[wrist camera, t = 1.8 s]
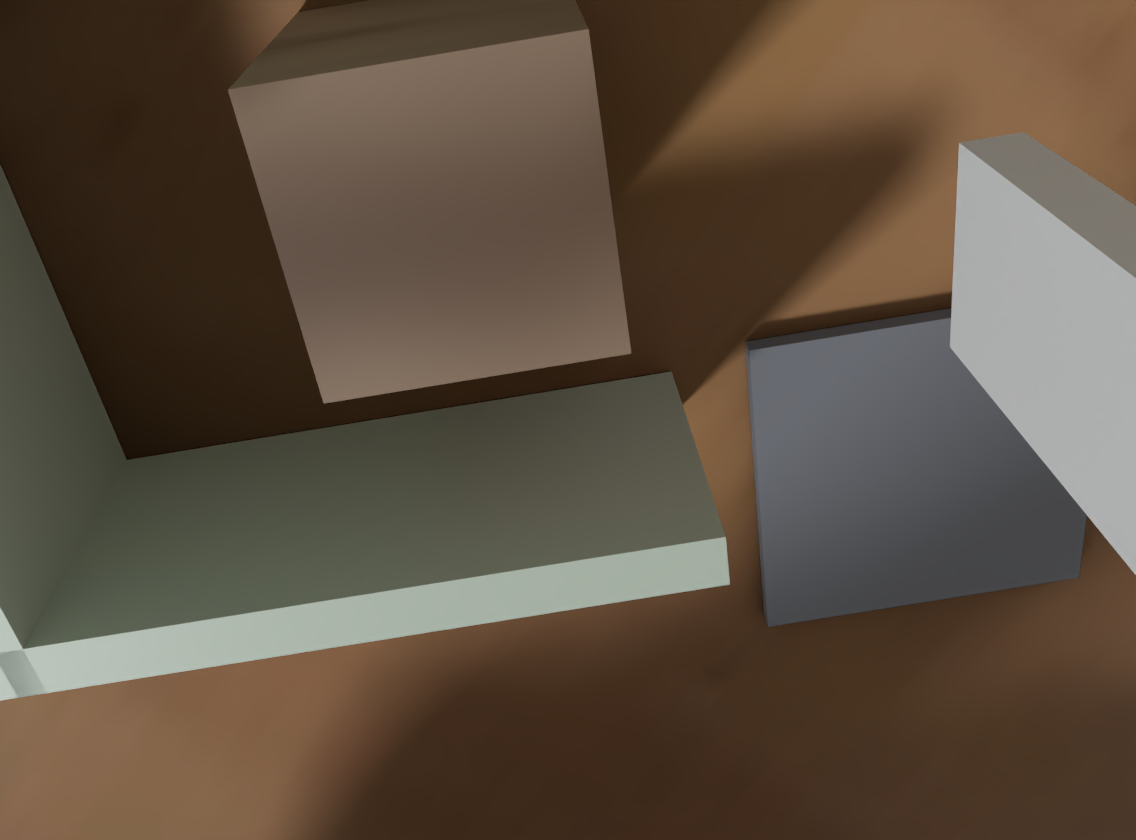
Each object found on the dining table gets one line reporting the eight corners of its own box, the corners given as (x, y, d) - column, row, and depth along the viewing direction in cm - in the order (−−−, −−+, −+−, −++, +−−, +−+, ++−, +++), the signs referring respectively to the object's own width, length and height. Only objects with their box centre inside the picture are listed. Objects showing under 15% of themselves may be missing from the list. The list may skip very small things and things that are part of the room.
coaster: (1070, 566, 31) (1078, 577, 30) (763, 615, 31) (768, 626, 31) (1104, 283, 26) (1114, 291, 26) (744, 341, 26) (749, 350, 26)
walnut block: (595, 219, 25) (631, 353, 19) (363, 257, 25) (323, 403, 19) (560, -33, 22) (588, 28, 16) (298, 11, 22) (227, 89, 16)
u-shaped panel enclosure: (97, 505, 28) (-11, 702, 22) (-235, -225, 19) (-563, -238, 13) (676, 412, 27) (729, 584, 21) (589, -369, 19) (637, -449, 13)
